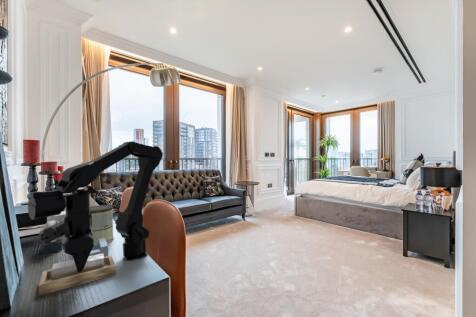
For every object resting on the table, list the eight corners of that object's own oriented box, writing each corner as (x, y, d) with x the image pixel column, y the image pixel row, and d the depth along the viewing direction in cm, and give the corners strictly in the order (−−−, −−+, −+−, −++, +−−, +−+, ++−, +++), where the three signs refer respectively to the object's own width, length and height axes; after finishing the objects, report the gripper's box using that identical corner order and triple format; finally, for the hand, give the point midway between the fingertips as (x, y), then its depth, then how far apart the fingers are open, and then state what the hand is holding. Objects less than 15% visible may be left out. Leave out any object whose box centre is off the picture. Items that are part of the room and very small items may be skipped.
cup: (69, 244, 92) (68, 214, 92) (44, 247, 90) (43, 216, 89) (75, 237, 100) (74, 210, 100) (52, 240, 97) (51, 212, 97)
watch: (62, 245, 91) (61, 217, 91) (62, 251, 85) (61, 222, 85) (43, 249, 88) (42, 220, 88) (42, 255, 81) (41, 225, 81)
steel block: (103, 266, 71) (103, 253, 71) (104, 271, 67) (103, 257, 67) (54, 278, 64) (53, 263, 64) (51, 284, 61) (51, 269, 61)
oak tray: (111, 263, 74) (111, 255, 74) (115, 274, 67) (115, 265, 67) (43, 280, 64) (42, 271, 64) (39, 296, 57) (38, 285, 57)
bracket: (105, 249, 86) (104, 237, 86) (108, 258, 77) (107, 245, 77) (79, 255, 81) (78, 242, 81) (79, 266, 73) (79, 251, 73)
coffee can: (78, 247, 89) (77, 211, 89) (93, 238, 99) (92, 205, 99) (106, 245, 89) (105, 209, 89) (118, 236, 100) (117, 204, 100)
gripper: (44, 209, 68) (46, 261, 69) (36, 223, 53) (38, 290, 53) (89, 204, 75) (90, 251, 75) (92, 215, 60) (94, 275, 60)
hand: (79, 265), depth 66 cm, fingers open, 9 cm apart
